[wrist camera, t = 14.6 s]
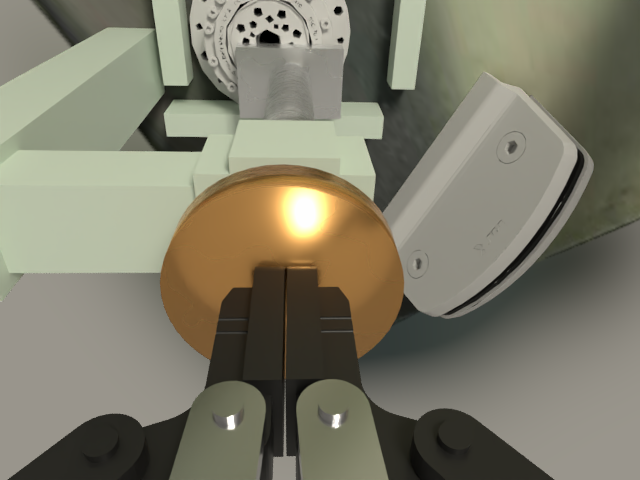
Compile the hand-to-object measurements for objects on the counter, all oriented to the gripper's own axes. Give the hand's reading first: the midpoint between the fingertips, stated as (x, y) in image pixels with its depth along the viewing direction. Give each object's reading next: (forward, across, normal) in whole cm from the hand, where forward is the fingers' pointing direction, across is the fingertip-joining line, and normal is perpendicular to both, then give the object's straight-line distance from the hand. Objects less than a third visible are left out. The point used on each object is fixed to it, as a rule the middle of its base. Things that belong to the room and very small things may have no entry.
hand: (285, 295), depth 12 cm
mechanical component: (+25, +1, -2) cm, 25 cm away
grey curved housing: (+25, -13, +9) cm, 29 cm away
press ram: (+20, 0, 0) cm, 20 cm away
